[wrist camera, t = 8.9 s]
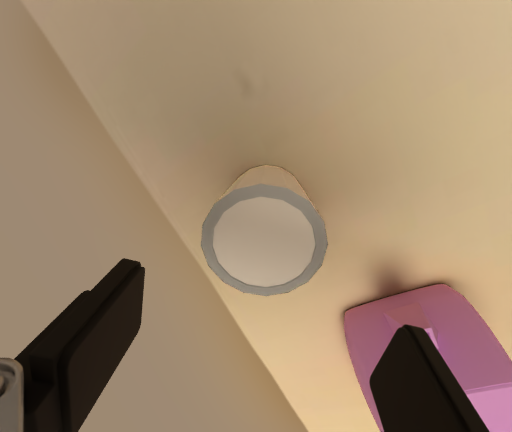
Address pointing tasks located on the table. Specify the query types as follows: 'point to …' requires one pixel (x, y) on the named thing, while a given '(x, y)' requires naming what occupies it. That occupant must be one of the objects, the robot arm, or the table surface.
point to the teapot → (446, 341)
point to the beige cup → (264, 233)
